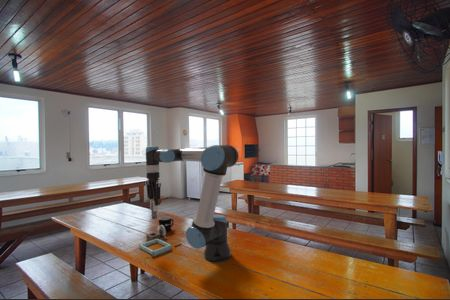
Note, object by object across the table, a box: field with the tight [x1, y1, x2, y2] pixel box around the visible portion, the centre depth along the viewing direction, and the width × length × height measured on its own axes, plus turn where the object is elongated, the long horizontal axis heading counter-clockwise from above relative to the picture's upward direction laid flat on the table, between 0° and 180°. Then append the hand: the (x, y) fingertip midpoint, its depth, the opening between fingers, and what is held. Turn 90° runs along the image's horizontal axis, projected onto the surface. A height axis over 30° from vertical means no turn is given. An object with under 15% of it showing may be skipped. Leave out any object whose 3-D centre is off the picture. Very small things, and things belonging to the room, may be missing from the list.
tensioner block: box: [145, 224, 167, 242], centre depth 168 cm, size 8×12×9 cm, turn 137°
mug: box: [158, 215, 174, 233], centre depth 186 cm, size 12×9×10 cm
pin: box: [151, 198, 158, 220], centre depth 153 cm, size 3×3×12 cm
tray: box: [138, 239, 173, 258], centre depth 153 cm, size 16×13×3 cm
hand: (154, 210), depth 153 cm, fingers closed on pin, 3 cm apart
